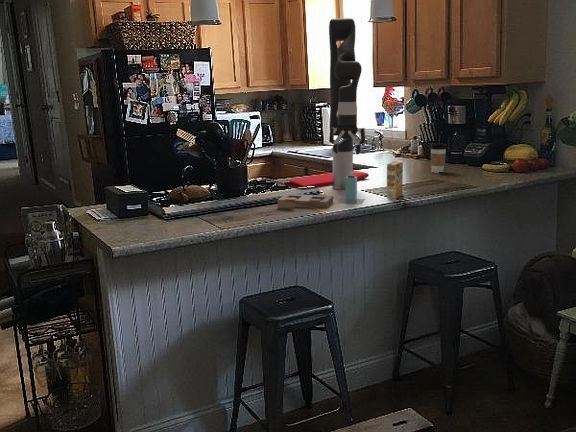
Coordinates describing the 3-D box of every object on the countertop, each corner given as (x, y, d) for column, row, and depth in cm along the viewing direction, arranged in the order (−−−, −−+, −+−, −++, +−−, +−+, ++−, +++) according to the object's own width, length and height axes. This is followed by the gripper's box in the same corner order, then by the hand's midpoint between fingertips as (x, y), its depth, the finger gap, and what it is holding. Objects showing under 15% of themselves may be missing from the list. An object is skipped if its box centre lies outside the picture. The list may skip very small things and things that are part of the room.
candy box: (395, 200, 266) (396, 164, 262) (385, 200, 268) (386, 163, 264) (402, 197, 273) (403, 161, 270) (393, 196, 276) (394, 160, 272)
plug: (347, 199, 264) (347, 174, 262) (356, 200, 263) (357, 174, 261) (345, 202, 260) (345, 175, 258) (355, 202, 259) (355, 176, 257)
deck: (341, 200, 268) (341, 198, 268) (365, 201, 265) (365, 199, 265) (336, 205, 259) (336, 203, 258) (361, 206, 256) (361, 204, 256)
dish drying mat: (283, 185, 304) (283, 177, 304) (348, 176, 328) (348, 168, 327) (303, 190, 292) (303, 182, 291) (369, 180, 315) (369, 172, 314)
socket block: (286, 201, 267) (286, 192, 266) (332, 204, 261) (333, 195, 260) (277, 208, 255) (277, 198, 254) (326, 210, 250) (326, 201, 249)
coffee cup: (426, 171, 335) (427, 142, 331) (440, 170, 337) (441, 142, 334) (434, 173, 327) (435, 144, 324) (448, 172, 330) (450, 144, 326)
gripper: (366, 112, 254) (366, 153, 258) (332, 112, 258) (331, 151, 262) (363, 114, 247) (362, 155, 251) (327, 113, 251) (327, 154, 255)
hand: (347, 153), depth 256 cm, fingers open, 8 cm apart
